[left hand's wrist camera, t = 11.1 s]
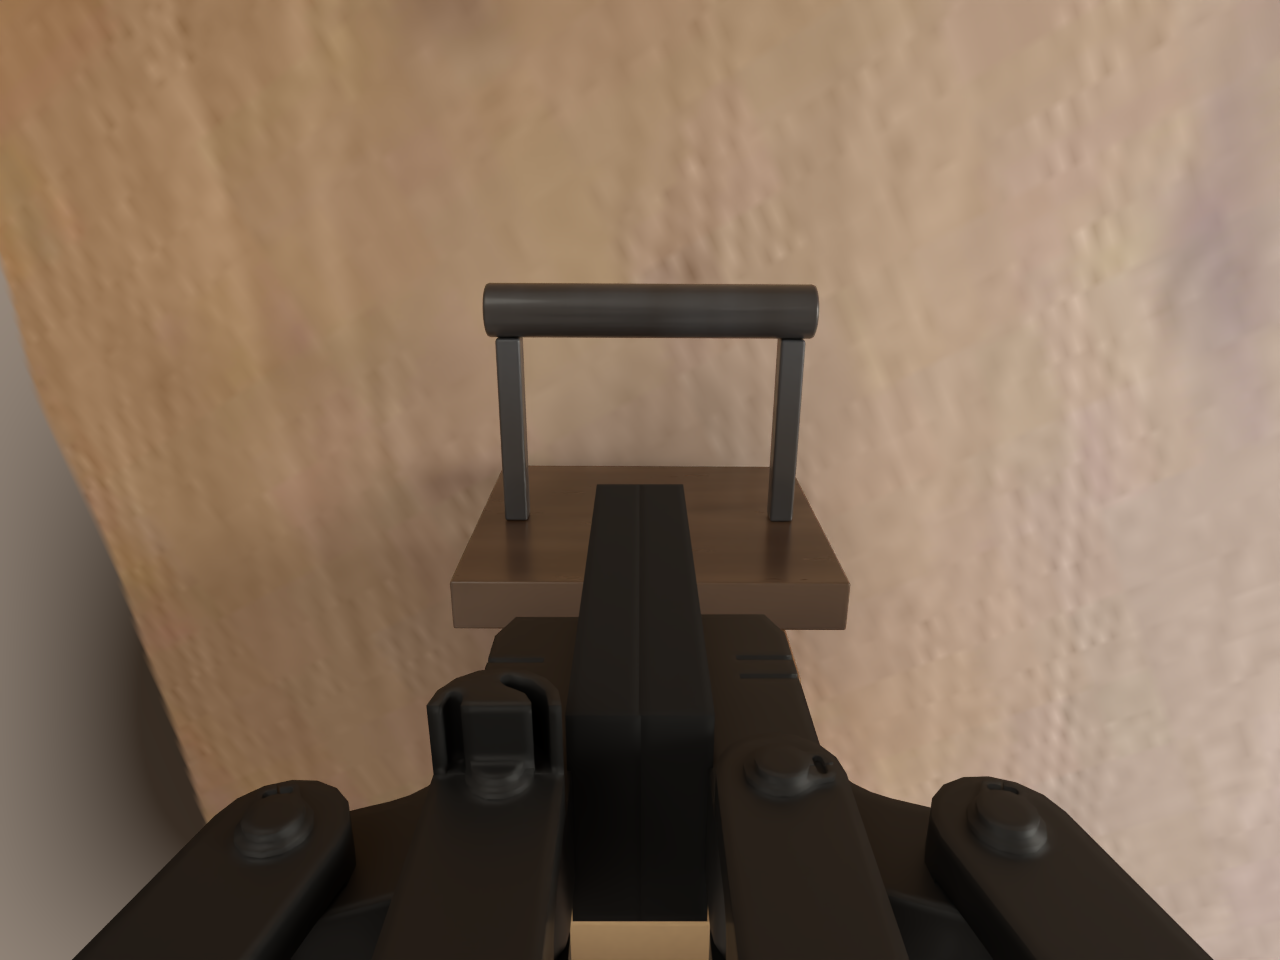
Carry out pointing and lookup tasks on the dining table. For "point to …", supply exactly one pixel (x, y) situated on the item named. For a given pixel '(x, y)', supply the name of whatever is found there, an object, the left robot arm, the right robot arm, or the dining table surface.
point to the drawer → (715, 496)
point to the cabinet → (640, 940)
